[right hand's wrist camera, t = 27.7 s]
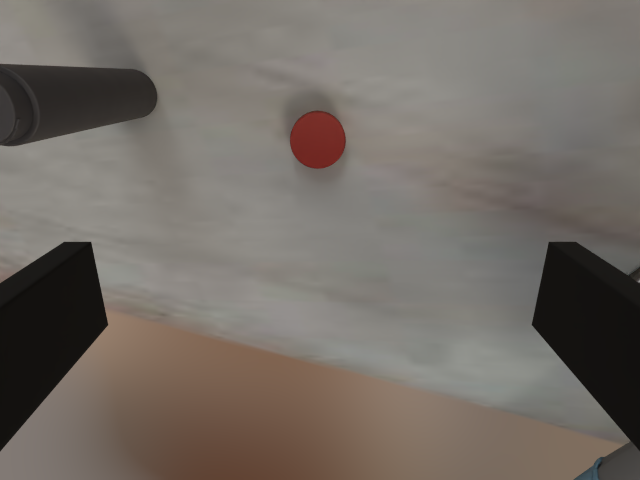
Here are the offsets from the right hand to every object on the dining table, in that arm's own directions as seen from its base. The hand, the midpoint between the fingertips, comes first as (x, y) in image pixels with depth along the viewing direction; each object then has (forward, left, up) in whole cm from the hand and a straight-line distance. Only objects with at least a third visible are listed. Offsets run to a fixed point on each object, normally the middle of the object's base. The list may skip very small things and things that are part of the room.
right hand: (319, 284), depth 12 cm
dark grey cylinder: (+9, +15, -30) cm, 35 cm away
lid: (0, 0, -28) cm, 28 cm away
